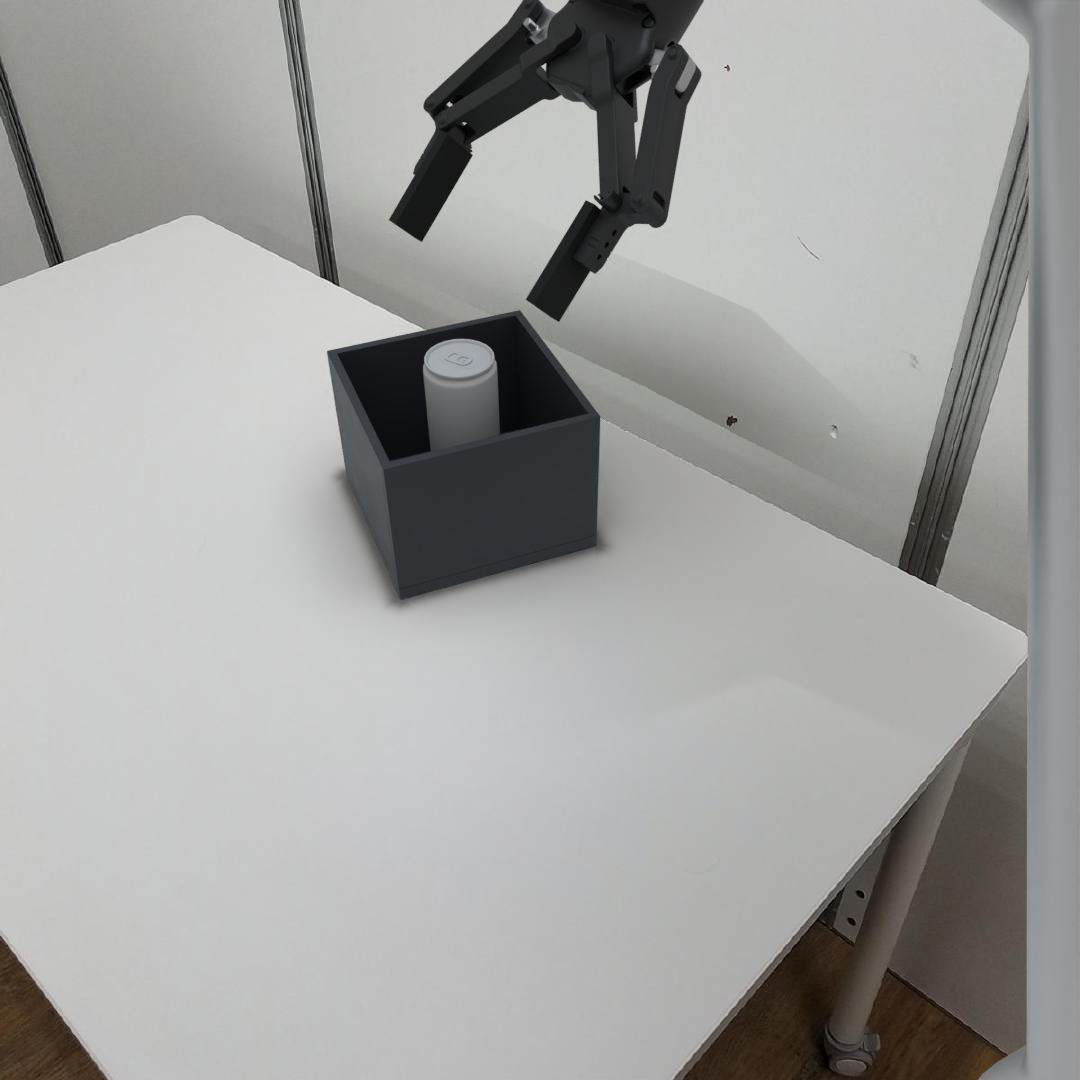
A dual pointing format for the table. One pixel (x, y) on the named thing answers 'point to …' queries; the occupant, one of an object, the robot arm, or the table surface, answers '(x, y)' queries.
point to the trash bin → (467, 458)
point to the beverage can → (461, 393)
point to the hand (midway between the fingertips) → (469, 269)
